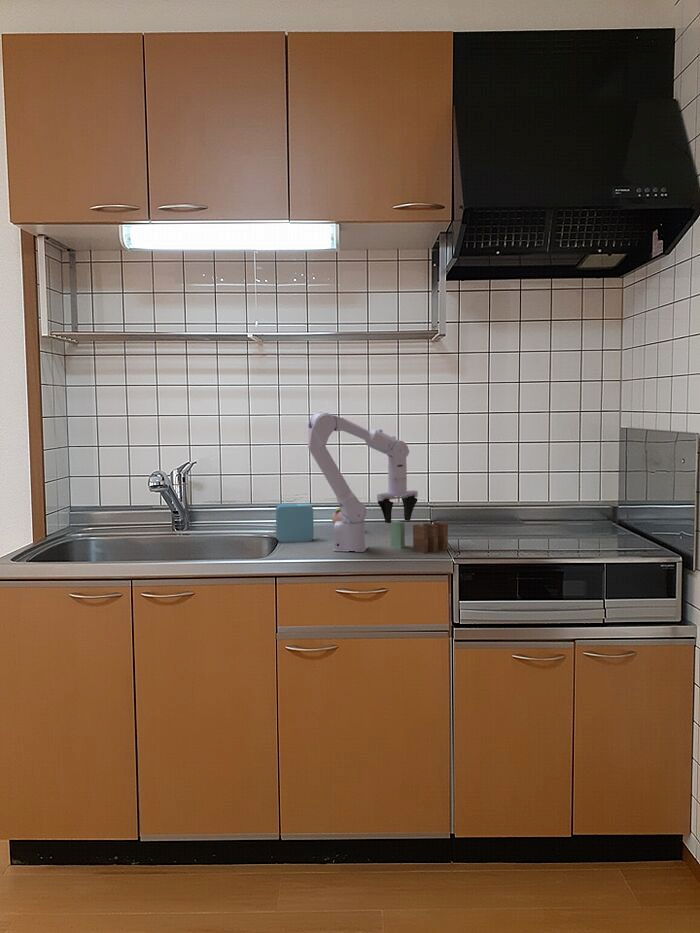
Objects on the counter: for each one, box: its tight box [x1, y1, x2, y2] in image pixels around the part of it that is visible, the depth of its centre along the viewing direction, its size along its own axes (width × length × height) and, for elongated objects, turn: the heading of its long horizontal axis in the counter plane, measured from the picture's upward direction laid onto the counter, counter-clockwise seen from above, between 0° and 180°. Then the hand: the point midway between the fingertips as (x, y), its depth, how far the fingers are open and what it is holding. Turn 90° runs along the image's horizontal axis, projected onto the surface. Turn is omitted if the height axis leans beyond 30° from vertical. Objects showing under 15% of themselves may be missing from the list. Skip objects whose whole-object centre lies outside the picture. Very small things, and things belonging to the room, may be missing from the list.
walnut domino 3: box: [432, 521, 449, 551], centre depth 246 cm, size 2×5×8 cm, turn 34°
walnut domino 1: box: [412, 524, 429, 554], centre depth 242 cm, size 2×5×8 cm, turn 34°
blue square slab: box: [275, 503, 315, 543], centre depth 262 cm, size 12×4×12 cm, turn 99°
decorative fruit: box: [331, 507, 343, 525], centre depth 275 cm, size 9×8×10 cm
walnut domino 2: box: [422, 522, 439, 553], centre depth 244 cm, size 2×5×8 cm, turn 34°
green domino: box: [390, 520, 406, 549], centre depth 249 cm, size 2×5×8 cm, turn 34°
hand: (397, 521), depth 249 cm, fingers open, 7 cm apart
